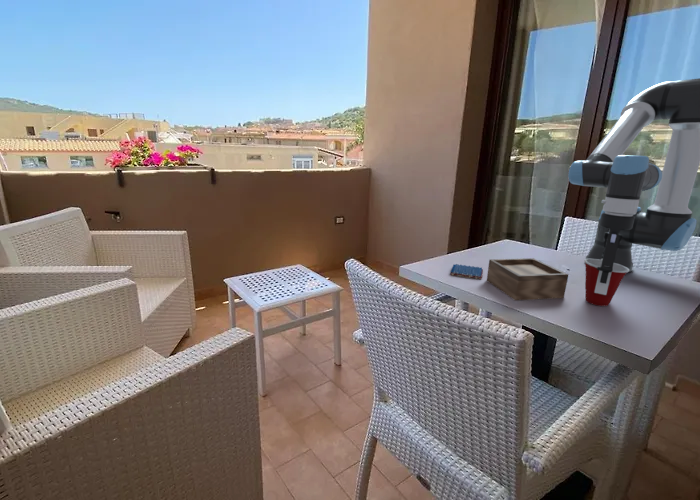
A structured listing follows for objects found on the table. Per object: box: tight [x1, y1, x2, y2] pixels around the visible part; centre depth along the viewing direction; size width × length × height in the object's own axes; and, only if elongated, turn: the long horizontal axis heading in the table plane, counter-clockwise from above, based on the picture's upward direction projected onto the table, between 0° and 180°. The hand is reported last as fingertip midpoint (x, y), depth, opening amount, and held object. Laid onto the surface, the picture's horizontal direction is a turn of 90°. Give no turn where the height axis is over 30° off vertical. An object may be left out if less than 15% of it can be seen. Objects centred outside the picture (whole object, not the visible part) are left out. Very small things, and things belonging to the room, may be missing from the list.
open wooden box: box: [486, 257, 569, 301], centre depth 114 cm, size 16×16×8 cm
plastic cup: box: [584, 259, 630, 307], centre depth 105 cm, size 11×11×12 cm
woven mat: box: [450, 263, 484, 280], centre depth 128 cm, size 10×11×2 cm
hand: (601, 286), depth 105 cm, fingers open, 13 cm apart
